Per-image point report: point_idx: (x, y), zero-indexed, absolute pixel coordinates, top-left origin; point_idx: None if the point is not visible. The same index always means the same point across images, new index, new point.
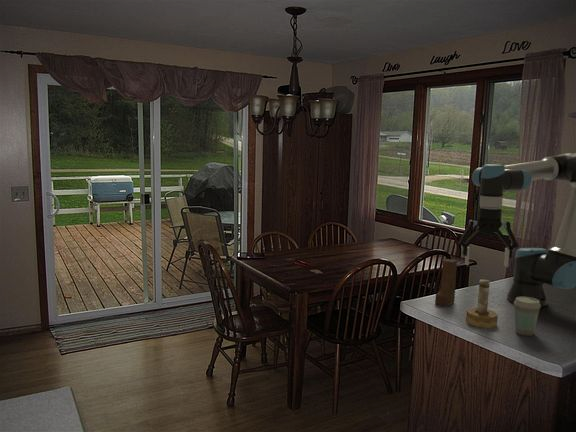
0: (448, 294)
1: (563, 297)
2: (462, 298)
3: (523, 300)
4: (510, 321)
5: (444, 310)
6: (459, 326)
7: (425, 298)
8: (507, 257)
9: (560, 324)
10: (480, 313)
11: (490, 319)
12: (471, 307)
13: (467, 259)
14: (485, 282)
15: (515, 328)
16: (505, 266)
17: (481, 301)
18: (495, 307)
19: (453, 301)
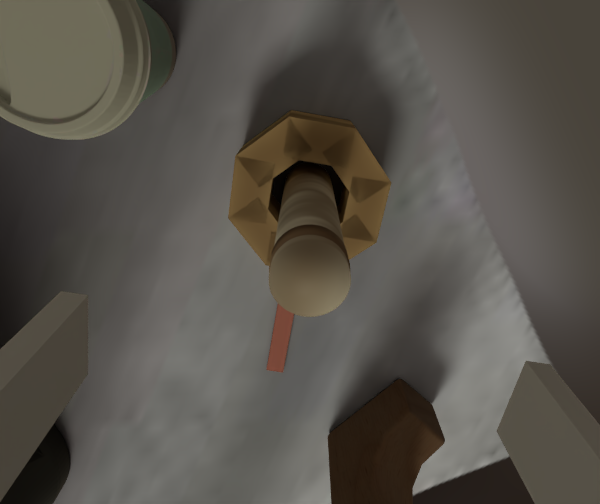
0: (386, 434)
1: None
2: (268, 477)
3: (72, 39)
4: (150, 206)
5: (420, 338)
6: (447, 128)
7: (439, 473)
8: (4, 371)
9: None
10: (326, 180)
11: (293, 116)
12: (278, 368)
13: (582, 413)
14: (318, 241)
15: (172, 63)
16: (86, 314)
17: (329, 200)
18: (157, 380)
19: (335, 431)
